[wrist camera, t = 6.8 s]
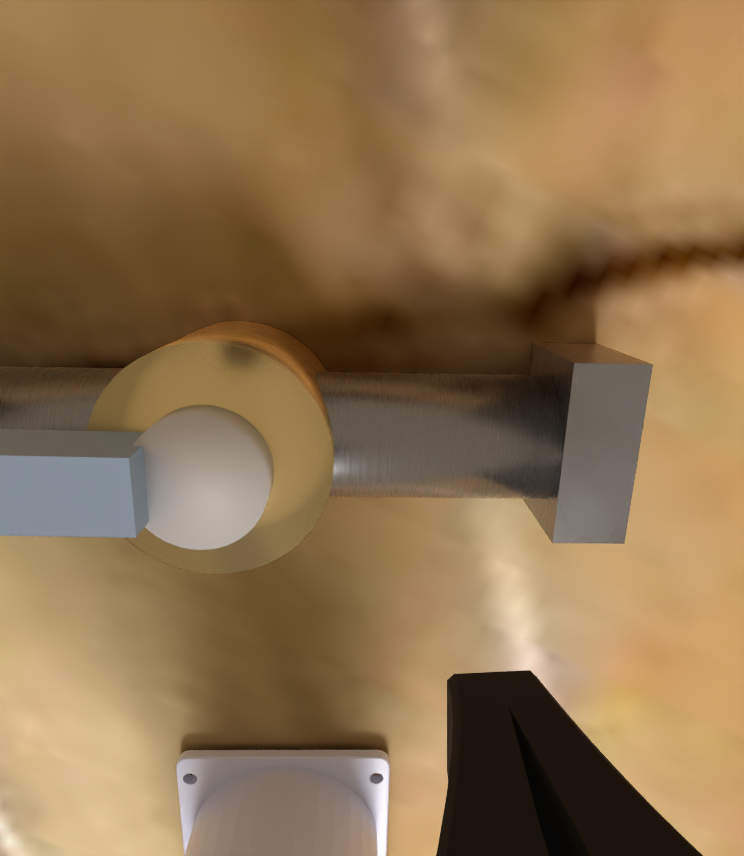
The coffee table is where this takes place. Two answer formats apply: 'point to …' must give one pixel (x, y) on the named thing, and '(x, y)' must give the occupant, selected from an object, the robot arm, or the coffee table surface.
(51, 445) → the lever
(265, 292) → the coffee table surface
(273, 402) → the valve body
